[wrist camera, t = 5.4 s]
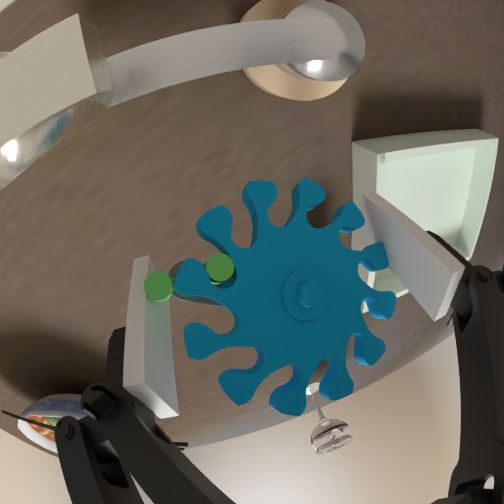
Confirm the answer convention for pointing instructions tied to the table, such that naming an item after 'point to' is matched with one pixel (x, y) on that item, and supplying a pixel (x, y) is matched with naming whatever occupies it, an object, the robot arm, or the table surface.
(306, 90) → the crank pedestal
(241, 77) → the table surface
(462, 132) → the tray
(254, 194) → the gear
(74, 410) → the ramen bowl
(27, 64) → the crank
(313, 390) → the wineglass
